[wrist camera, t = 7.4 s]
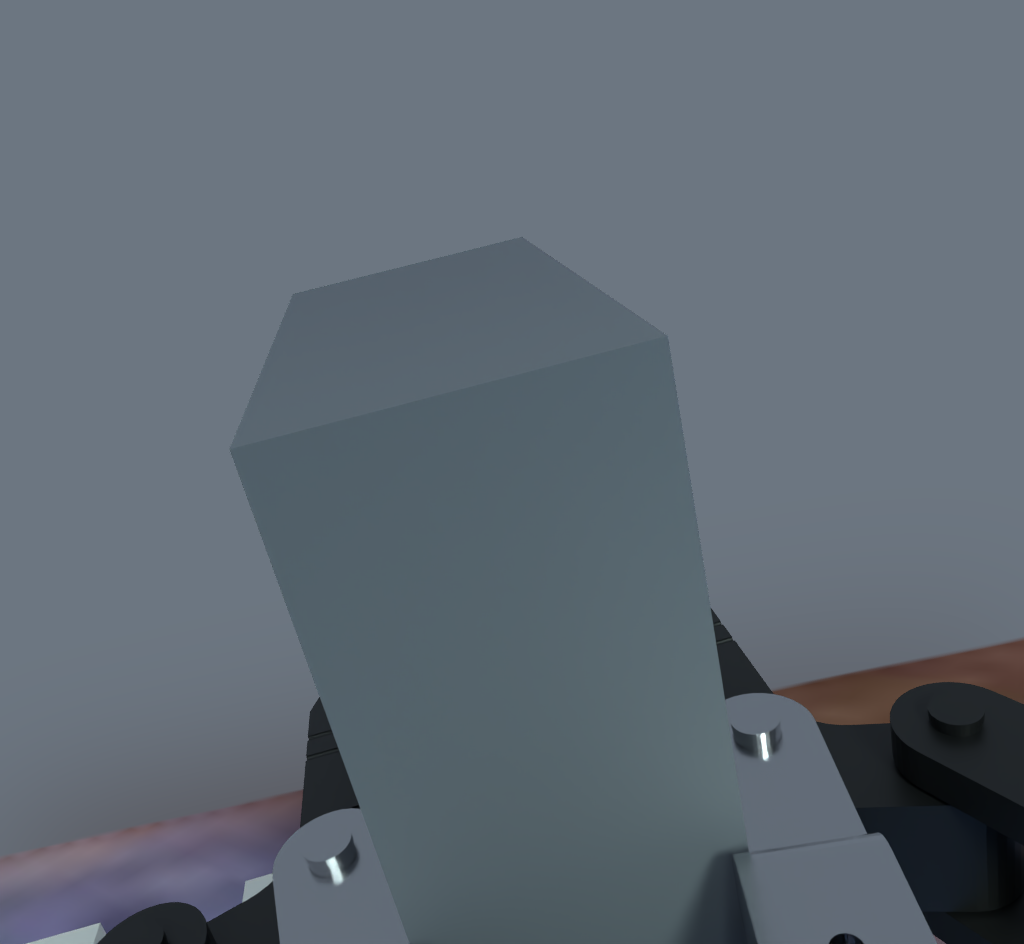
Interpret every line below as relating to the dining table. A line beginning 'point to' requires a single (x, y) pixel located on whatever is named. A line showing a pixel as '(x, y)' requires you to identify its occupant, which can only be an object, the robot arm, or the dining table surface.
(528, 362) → the slate slat
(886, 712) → the dining table surface
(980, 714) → the robot arm
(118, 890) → the dining table surface
